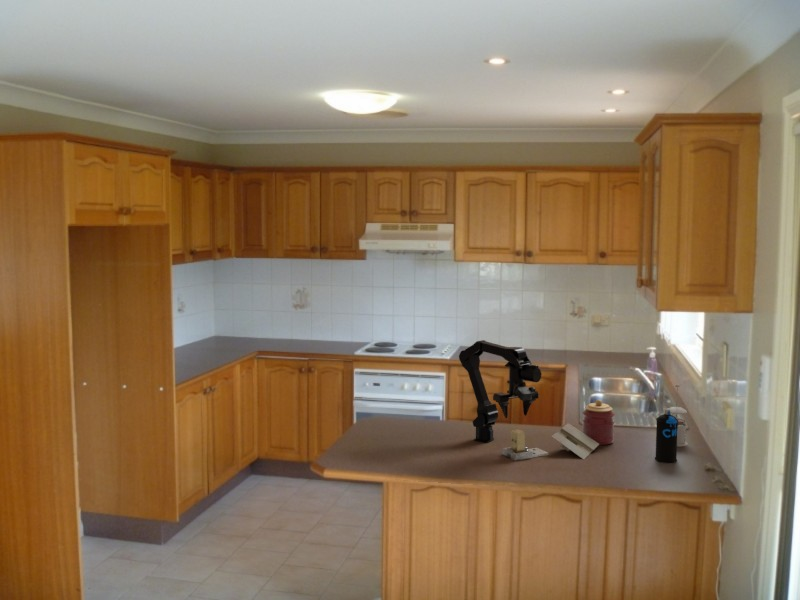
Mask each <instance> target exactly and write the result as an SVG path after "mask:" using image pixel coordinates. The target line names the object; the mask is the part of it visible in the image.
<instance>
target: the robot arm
mask: <svg viewBox="0 0 800 600" xmlns="http://www.w3.org/2000/svg"><path fill="white" fill-rule="evenodd" d="M484 353H488V354H492V355H495V356H499V357H502V358H503V359H504V360H505V361H506V364H504V367H505V368H509V371H508V373H509V374H508V379H507V381H506V382H507V384H508V389H507V390H506V392H507V393H504V392H495V393H494V394H493V395H492V401H495V402H496V403H498V405H499V407H500V409H501V411H502V414H503V415H504V419H508V416H509V415H508V411H509V410H508V407H509V405H510V402H509V401H510V399H519V400H520V401H522V409H523V411H522V412H523V416H527V414H528V412H529V411H530V408H531V407H530V406H531V405H532V403H533V402H535V401H536V400H537V399H539V397H540V395H539V391H537V390H536V388H535V386H530V387H527V386H526V382H532V383H539V382H540V380H541V379H542V371H541V369H540V368H539V364H532V361H531V360H530V358H529V356H528V355H527V351H526V350H525V348H523V347H522V346H521V347H520V346H510V347H509V346H505V345H501V344H497V343H495V342H494V343H493V342H489V341H487V340H484V339H482V340H477V341H475V342H474V343H472V345H470V346H468V347H467V348H465V349H464V350H461V351H460V352H459V355H458V360H459V362H460V364H461V366H462V367H463V368H464V369H465V370H466V372H467V374H468V376H469V381H470V383H471V386H472V390H473V394H474V397H475V399H476V402H477V406H476V407H477V408H476V417H475V418H474V419H473V420H472V425H473V427H475V438H474V439H473V441H477V442H480V443H481V442H482V443H489V442H491V441H493V440H495V437H494V429H493V426H494V425H495V424H496V423H497V420H498V418H499V411H498V409H497V404H496V403H493V402H491V401H490V399H489V396H488V393H487V389H486V386H485V383H484V380H483V377H482V374H481V371H480V363H481V359H480V357H481V356H482V355H483V354H484ZM525 381H526V382H525Z"/></svg>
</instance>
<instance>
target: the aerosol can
mask: <svg viewBox="0 0 800 600" xmlns="http://www.w3.org/2000/svg"><path fill="white" fill-rule="evenodd" d="M677 418H678V417H677ZM677 418H676V415H674V414H673V415H672V413H671V414H670V409H668V408H665V409H664V413H663V414H661V415H659V416H658V417H656V418H655V420H656V432H655V433H656V436H655V456H654V460H655V461H657V462H660V463H665V464H670V463H671V464H673V463H676V462H677V461H678V459H677V454H678V446H677V429H678V426H679V425H678V420H677Z"/></svg>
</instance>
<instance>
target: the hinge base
mask: <svg viewBox="0 0 800 600" xmlns="http://www.w3.org/2000/svg"><path fill="white" fill-rule="evenodd" d="M502 455H503V456H505V457H506V458H508V459H511V460H514V461H523V460H527V459H533V458H538V457H544V456H549V455H550V454H549V452H547V451H545V450H543V449H541V448H539V447H533V448H529V447H528V446H526V445H525V452H522V453H514V452H513V449H511V446H508V447H503V448H502Z"/></svg>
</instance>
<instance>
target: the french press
mask: <svg viewBox="0 0 800 600" xmlns="http://www.w3.org/2000/svg"><path fill="white" fill-rule="evenodd" d="M674 387H675V388H676V394H678V391H679V388H680V387H681V386H680V384H679V383H675V384H674ZM675 404H676V406H671V407H669V408H667V409H670V414H671V415H673V416H674V415H675V417H676V418H677V420H678V429H677V447H686V446H688V442H687V441H686V435H687V433H686V431H687V430H686V429H687V425H686V420H685V419H682V418H678V416H677V415H685V414H687V410H686V409H684V408H682V407H680V406H678V402H676V403H675Z"/></svg>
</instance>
